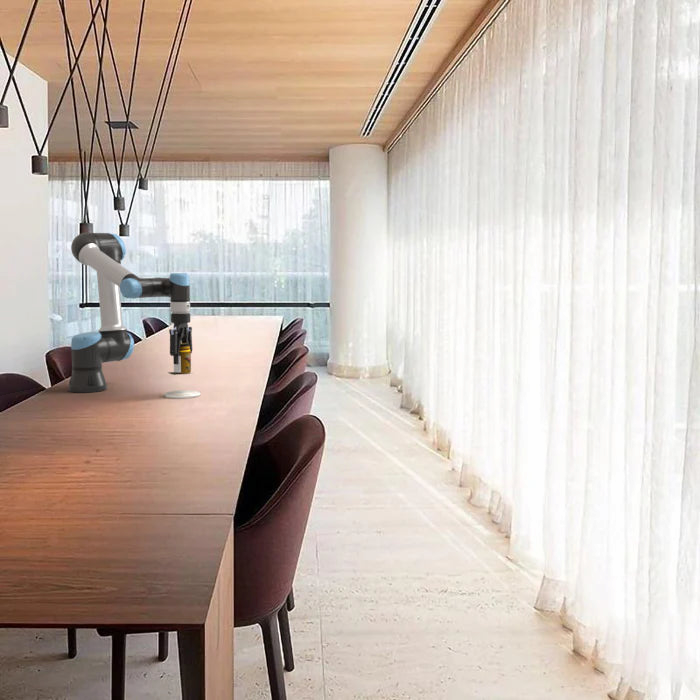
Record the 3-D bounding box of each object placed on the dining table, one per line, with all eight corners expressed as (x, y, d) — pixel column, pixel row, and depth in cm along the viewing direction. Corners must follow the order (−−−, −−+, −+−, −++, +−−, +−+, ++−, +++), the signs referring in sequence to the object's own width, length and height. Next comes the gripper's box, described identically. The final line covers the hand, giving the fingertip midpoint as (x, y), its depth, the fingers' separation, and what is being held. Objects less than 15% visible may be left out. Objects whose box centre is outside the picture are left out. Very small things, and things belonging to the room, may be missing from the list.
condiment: (194, 373, 308) (194, 343, 306) (174, 375, 303) (173, 344, 302) (187, 371, 314) (187, 341, 312) (167, 373, 309) (166, 343, 308)
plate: (157, 397, 305) (157, 394, 305) (175, 391, 319) (175, 388, 319) (189, 399, 301) (189, 396, 301) (206, 393, 314) (206, 390, 314)
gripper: (176, 314, 296) (177, 374, 299) (200, 311, 314) (201, 368, 317) (159, 314, 298) (160, 374, 301) (184, 310, 316) (185, 367, 319)
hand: (181, 371), depth 309 cm, fingers closed on condiment, 6 cm apart
